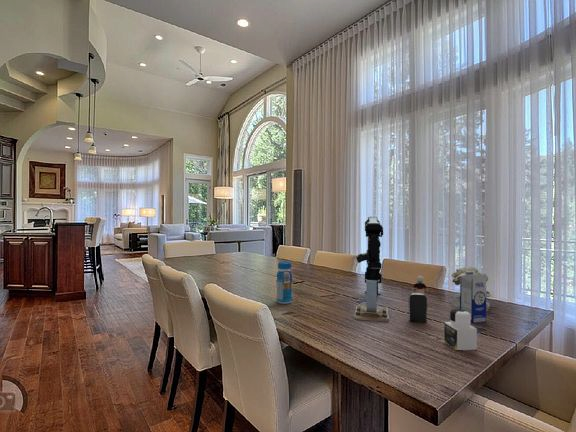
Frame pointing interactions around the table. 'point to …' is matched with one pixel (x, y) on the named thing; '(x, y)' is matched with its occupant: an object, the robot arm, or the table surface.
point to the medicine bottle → (460, 331)
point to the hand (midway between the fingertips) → (373, 279)
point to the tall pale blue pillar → (371, 295)
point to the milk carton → (473, 296)
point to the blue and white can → (284, 283)
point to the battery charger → (417, 307)
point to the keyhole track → (371, 314)
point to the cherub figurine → (457, 281)
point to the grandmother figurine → (419, 285)
